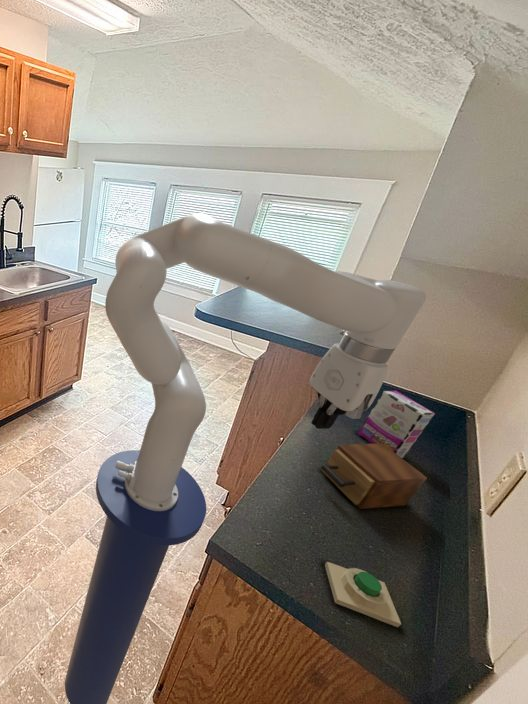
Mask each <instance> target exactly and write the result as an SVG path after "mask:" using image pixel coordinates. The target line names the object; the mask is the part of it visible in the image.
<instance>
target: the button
mask: <svg viewBox="0 0 528 704" xmlns="http://www.w3.org/2000/svg"><path fill="white" fill-rule="evenodd" d="M378 580H379V579H378V578H377V577H375V576H374V575H373V574H371V573H369V572H367V571H366V572H360V573H359V574H358V575H357V576H356V577H355V579H354V581H355V584H356V586H357V587H358V588H359V589H360V590H361V591H362V592H364V593H365V594H367V595H369V596H376V595H377V594H378V593H379V592H380V591H381V590H382V586H381V584H380V582H379V581H380V580H379V581H378Z"/></svg>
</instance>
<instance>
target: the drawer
mask: <svg viewBox="0 0 528 704" xmlns="http://www.w3.org/2000/svg"><path fill="white" fill-rule="evenodd" d="M320 468H321V469H322V470H321V473H323V474H324V475H325V476H326V477H327V478H328V479H329V480H330V481H331V482H332V483H333V484H334V485H335V486H336V487H337V488H338V489H339V490H340V491H341V493H343V494H344V495H345V496H346V497H347V498H348V500H350V501H351V502H352V503H353V504H354V505H355V506H356V504H360V502H361V501H362V499H363V498H364V497H365V495H366V494H367V492H368V491H369V490H370V488H371V487H372V485H373V484H374V483H375V480H374V479H373V478H372V477H370V476H369V475H368V474H367V473H366V472H365V471H364V470H363V469H361V468H360V467H359V466H358V465H357V464H356V463H355V462H354V461H352V460H351V459H350V458H349V457H348V456H347V455H346V454H344V453H342V452H341V451H340V450H339V449H338V450H336V449H334V451H333V453H332V454H331V456H330V457H329V459H328V460H327V462H326V463H325V464H322V466H321V467H320Z"/></svg>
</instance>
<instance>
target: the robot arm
mask: <svg viewBox="0 0 528 704" xmlns="http://www.w3.org/2000/svg"><path fill="white" fill-rule="evenodd" d="M114 260H115V262H114V263H115V270H116V271H115V272H116V273H115V276H114V278H113V279H112V281H111V283H110V285H109V287H108V289H107V292H106V297H105V313H106V316H107V319H108V321H109V323H110V326H111V327H112V329H113V330H114V332H115V334H116V336H117V337H118V339H119V341H120V343H121V346H122V347H123V349H124V350H125V352H126V354H127V355H128V357H129V359H130V360H131V363H132V365H133V366H134V368H135V370H136V372H137V373H138V375H140V376H141V377H142V379H144V380H145V381H147V382H148V383H150V384H151V388H152V391H153V397H154V409H153V412H152V414H151V416H150V417H149V419H148V421H147V424H146V428H145V431H144V435H143V437H142V438H143V439H142V441H141V446H140V448H139V450H140V452H139V456H138V459H137V461H135V464H134V465H133V464H130V465H128V464H125V463H124V462H121V461H118V460H117V463H116V467H115V468H117V469H120V471H119V474H118V476H121V477H124V478H125V489H126V491H127V493H128V495H129V496H130V497H131V499H132V500H133V501H134V502H136V503H137V504H138V505H140V506H142V507H144V508H146V509H149V510H153V511H165V510H168V509H170V508H172V507H173V506H174V505H175V504H176V502H177V499H178V489H177V487H176V485H175V483H176V481H177V478H178V475H179V472H180V470H181V467H182V468H183V464H184V461H185V459H186V455H187V454H188V453H187V452H188V450H189V447H190V444H191V442H192V439H193V437H194V435H195V432H196V431H197V429H198V427H199V426H200V424H202V421H203V420H204V419H205V415H206V412H207V403H206V399H205V394H204V391H203V390H202V386H201V385H200V383H199V380H198V379H197V376H196V374H195V372H194V369H193V368H192V365H191V364H190V361H189V360H188V358H187V356H186V355H185V353H184V351H183V349H182V347H181V345H180V343H179V341H178V339H177V338H176V336H175V334H174V332H173V330H172V329H171V327H170V326H169V325H167V323H165V322H163V321H162V320H161V317H160V316H159V314H158V312H157V311H156V308H155V305H154V304H155V302H156V301H155V300H156V298H157V297H158V294H159V293H160V291H161V290H162V289H163V287H164V284H165V282H166V278H167V270H168V269H170V268H173V267H176V266H178V265H181V264H183V263H185V264H186V265H188V266H189V267H190V268H191V269H193V270H195V271H198V272H200V273H202V274H205V275H208V276H211V277H213V278H216V279H219V280H222V281H224V282H227V283H230V284H233V285H236V286H237V287H241V288H244V289H246V290H248V291H251V292H254V293H256V294H259V295H261V296H263V297H265V298H267V299H269V300H271V301H273V302H275V303H277V304H281V305H283V306H286V307H287V308H290V309H292V310H295V311H297V312H299V313H301V314H303V315H305V316H308V317H310V318H312V319H314V320H316V321H319V322H322V323H324V324H327V325H330V326H332V327H335V328H338V329H341V331H340V333H339V336H340V337H341V339H340V341H339V343H338V342H336V343H334V344H333V345H332V346H331V347H330V348H329V349H328V350H327V352H326V353H325V354H324V355H323V356H322V358H321V360H320V361H319V362H318V364H317V365H316V367H315V369H314V371H313V372H312V374H311V376H310V378H309V385H310V386H311V388H312V390H314V392H315V393H316V394H317V399H318V401H317V407H318V409H317V410H316V412H315V414H314V417H313V418H312V419H311V422H310V424H312V425H313V426H314V427H315V428H316V429H319V430H320V429H325V430H328V429H331V428H332V427H333V425H334V423H335V422H336V420H337V419H338V417H339V416H343V415H344V416H346V417H347V418H349V419H351V420H360V419H361V418H362V415H363V412H366V411H367V410H369V408H370V407H371V405H372V404H373V402H374V401H375V399H376V397H377V395H378V393H379V392H380V389H381V387H382V385H383V383H384V381H385V379H386V375H387V372H388V369H389V365H388V364H387V363H388V361H389V360H390V358H391V357H392V355H393V353H394V351H396V349H397V347H398V345H399V344H400V341H401V340H402V339H403V337H404V335H405V334H406V332H407V331H408V329H409V328H410V326H411V324H412V323H413V321H414V319H415V318H416V316H417V314H418V313H419V311H420V310H421V308H422V306H423V305H424V303H425V301H426V298H427V296H426V292H425V291H424V290H423V289H421V288H420V287H418V286H416V285H413V284H411V283H410V284H409V283H406V282H402V281H397V280H390V279H374V278H371V277H366V276H362V275H358V274H355V273H353V272H349V271H340V270H339V271H338V270H337V271H334V270H332V269H329V268H328V267H326V266H323V265H321V264H319V263H318V262H316V261H314V260H312V259H311V258H309V257H307V256H305V255H304V254H302V253H300V252H298V251H296V250H294V249H293V248H290V247H288V246H285V245H283V244H281V243H278V242H275V241H273V240H270V239H267V238H264V237H261V236H259V235H256V234H253V233H250V232H248V231H246V230H243V229H241V228H237V227H235V226H233V225H230V224H228V223H225V222H222V221H220V220H218V219H216V218H214V217H213V216H211V215H210V214H207V213H192V214H190V215H186V216H183V217H180V218H178V219H175V220H174V221H170V222H168V223H165V224H163V225H160V226H159V227H156V228H153V229H151V230H148V231H146V232H143V233H140V234H138V235H136V236H133V237H131V238H129V239H128V240H126V241H125V242H124V243H123V244H122V245H121V246H120V247H119V248H118V250H117V252H116V255H115V259H114ZM121 470H124V471H127V472H128V473H126V472H124V471H121Z"/></svg>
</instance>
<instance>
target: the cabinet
mask: <svg viewBox="0 0 528 704" xmlns="http://www.w3.org/2000/svg"><path fill="white" fill-rule="evenodd" d="M338 449H339V450H340V451H341V452H342V453H344V454H346V455H347V456H348V457H349V458H350V459H351V460H352V461H354V462H355V463H356V464H357V465H358V466H359V467H360V468H361V469H363V470H364V471H365V472H366V473H367V474H368V475H369V476H370V477H372V478H373V479H374V480H375V483H374V484H373V485H372V487H371V488H370V490H369V491H368V492H367V494H366V495H365V497H364V498H363V499H362V501H361V502H360V504H356V505H355V506H356V507H357V508H358V509H360V510H362V509H363V510H364V509H375V508H376V509H377V508H388V507H389V508H391V507H402V506H403V507H404V506H407V504H408V503H409V502H410V501H411V499H412V498H413V496H415V494H416V493H417V492H418V491H419V489H420V488H421V487H422V486H423V484H424V483H425V481H427V479H428V477H427V476H425V475H424V474H423V473H422V472H420V471H419V470H418V469H416V468H415V467H414V466H412V465H411V464H410V463H408V462H407V461H406V460H405V459H404V458H401V457H400V456H398V455H397V454H396V453H394V452H393V451H392V450H391V449H389V448H388V447H387V446H385V445H384V444H383V443H380V444H370V443H358V444H357V443H356V444H338V445H337V447H336V449H335V450H338Z"/></svg>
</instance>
